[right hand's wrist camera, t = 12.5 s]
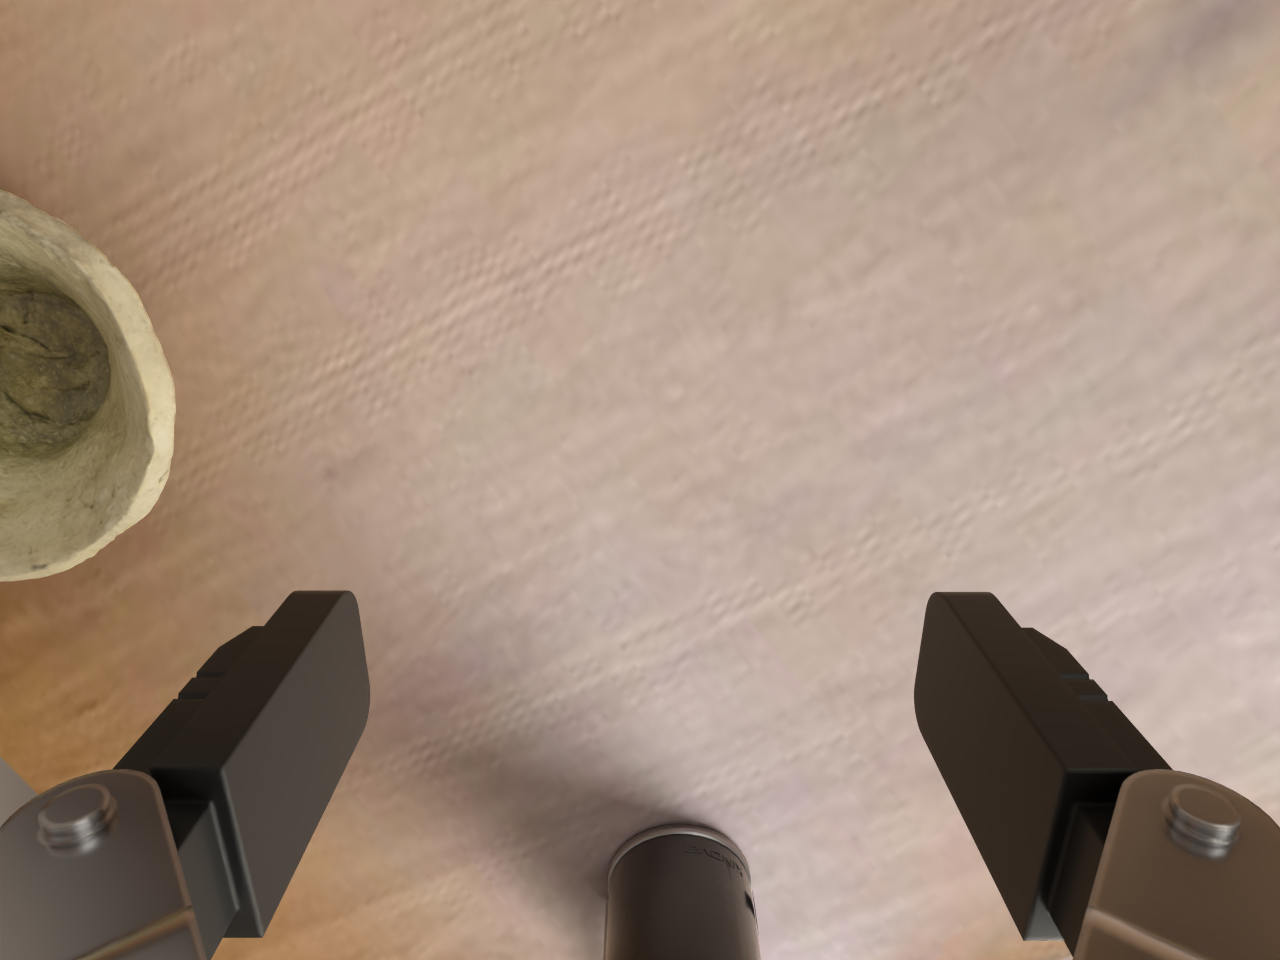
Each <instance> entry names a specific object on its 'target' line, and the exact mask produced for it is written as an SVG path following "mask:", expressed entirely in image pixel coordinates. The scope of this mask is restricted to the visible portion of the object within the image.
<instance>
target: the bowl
mask: <svg viewBox="0 0 1280 960" xmlns="http://www.w3.org/2000/svg"><path fill="white" fill-rule="evenodd" d="M175 414H176V403H175V387H174V381H173V378H172V375H171V371H170V368H169V366H168V363H167V360H166V358H165V355H164V353H163V350H162V346H161V344H160V341H159V339H158V338H157V336H156V334H155V332H154V330H153V327H152V323H151V320H150V318H149V316H148V315H147V312H146V310H145V309H144V306H143V303H142V301H141V299H140V297H139V295H138V294H137V292H136V290H135V289H134V287H133V286H132V285H131V284H130V282H129V281H128V279H127V278H126V277H125V276H124V275H123V274H122V273H121V272H120V271H119V270H118V268H117V267H116V266H115V265H113V264H112V263H111V262H110V261H109V259H108V258H107V257H106V256H105V255H104V254H103V253H102V252H101V251H100V250H99V249H98V248H97V247H96V246H95V245H94V244H93V243H91V242H90V241H89V240H88V239H87V238H85V237H84V236H83V235H82V234H81V233H80V232H78V231H77V230H76V229H74V228H73V227H71V226H70V225H68V224H66V223H65V222H63V221H62V220H60V219H58V218H56V217H54V216H52V215H50V214H48V213H46V212H45V211H43V210H41V209H39V208H37V207H35V206H33V205H32V204H31V203H30V202H28V201H27V200H25V199H22V198H20V197H18V196H16V195H14V194H12V193H10V192H8V191H6V190H3V189H0V581H17V580H26V579H36V578H42V577H46V576H50V575H53V574H56V573H60V572H63V571H66V570H68V569H70V568H72V567H74V566H75V565H77V564H80V563H82V562H84V561H85V560H86V559H88V558H91V557H93V556H95V555H96V554H97V552H98V551H99V550H101V549H102V548H104V547H105V546H106V545H107V544H108V543H110V542H111V541H113V540H114V539H115V537H116V536H117V535H119V534H121V533H123V532H124V531H125V530H127V529H128V528H130V527H131V526H133V525H134V524H136V523H137V522H138V521H139V520H141V519H142V518H144V517H145V516H146V515H147V514H148V513H149V512H150V511H151V509H152V507H153V506H154V504H155V503H156V502H157V500H158V498H159V496H160V494H161V492H162V490H163V488H164V486H165V484H166V481H167V479H168V477H169V473H170V464H171V458H172V455H173V448H174V423H175Z"/></svg>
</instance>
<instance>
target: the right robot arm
mask: <svg viewBox="0 0 1280 960" xmlns="http://www.w3.org/2000/svg"><path fill="white" fill-rule="evenodd" d="M369 704H370V685H369V677H368V670H367V664H366V657H365V650H364V643H363V637H362V630H361V623H360V616H359V609H358V604H357V601H356V598H355V596H354V594H353V593H352V592H351V591H294V592H292V593H291V594H290V595H289V596H288V597H287V599H286V600H285V601H284V602H283V603H282V605H281V606H280V607H279V608H278V610H277V611H276V612H275V613H274V615H273V616H272V617H271V618H270V619H269V621H268V622H267V623H266V624H265V626H252V627H251V628H249V629H247V630H246V631H244V632H243V633H241V634H239V635H238V636H236V637H235V638H233V639H232V640H230V641H228V642H227V643H225V644H224V645H222V646H220V647H219V648H218V649H217V650H216V651H215V652H214V653H213V655H212V656H211V657H210V658H209V659H208V660H207V662H206V663H205V664H204V665H203V666H202V667H201V668H200V670H199V671H198V672H197V677H196V678H192V679H191V680H190V681H189V682H188V683H187V684H186V686H185V687H184V688H183V689H182V690H181V691H180V692H179V696H178V699H173V700H172V702H171V703H170V704H169V705H168V706H167V707H166V708H165V710H164V711H163V712H162V713H161V714H160V715H159V717H158V718H157V719H156V720H155V721H154V722H153V723H152V725H151V726H150V727H149V728H148V729H147V730H146V731H145V733H144V734H143V735H142V736H141V737H140V738H139V739H138V741H137V742H136V743H135V744H134V745H133V746H132V747H131V749H130V750H129V751H128V752H127V753H126V754H125V755H124V757H123V758H122V759H121V760H120V761H119V762H118V763H117V765H116V766H115V767H114V768H113V769H112V770H106V771H99V772H95V773H90V774H86V775H83V776H80V777H77V778H74V779H71V780H69V781H66V782H64V783H61V784H59V785H57V786H55V787H53V788H51V789H49V790H47V791H45V792H43V793H42V794H40V795H38V796H37V797H35V798H33V799H32V800H30V801H29V802H27V803H26V804H25V805H23V806H22V807H21V808H19V809H18V810H17V811H16V812H15V813H14V814H13V815H11V816H10V817H9V818H8V819H7V821H6V822H5V823H4V824H3V825H2V826H1V828H0V960H211V958H212V956H213V954H214V953H215V951H216V949H217V947H218V945H219V943H220V941H221V940H222V938H263V936H264V933H265V931H266V929H267V927H268V925H269V923H270V921H271V919H272V917H273V915H274V913H275V911H276V909H277V907H278V905H279V903H280V901H281V899H282V897H283V895H284V893H285V891H286V888H287V886H288V884H289V882H290V880H291V878H292V876H293V874H294V872H295V870H296V868H297V866H298V864H299V862H300V860H301V858H302V856H303V854H304V852H305V850H306V848H307V845H308V843H309V841H310V839H311V837H312V835H313V833H314V831H315V829H316V827H317V825H318V823H319V821H320V819H321V817H322V815H323V813H324V811H325V809H326V807H327V805H328V802H329V800H330V798H331V796H332V794H333V792H334V790H335V788H336V786H337V784H338V782H339V780H340V778H341V776H342V774H343V772H344V770H345V768H346V766H347V764H348V762H349V760H350V757H351V755H352V753H353V751H354V749H355V747H356V745H357V743H358V741H359V739H360V737H361V735H362V733H363V731H364V728H365V725H366V722H367V717H368V712H369ZM914 704H915V713H916V718H917V722H918V726H919V729H920V732H921V734H922V736H923V738H924V740H925V742H926V744H927V746H928V748H929V750H930V752H931V754H932V756H933V758H934V760H935V762H936V764H937V766H938V768H939V770H940V773H941V775H942V777H943V779H944V781H945V783H946V785H947V787H948V789H949V791H950V793H951V795H952V797H953V799H954V801H955V803H956V805H957V807H958V809H959V811H960V813H961V815H962V817H963V819H964V821H965V823H966V825H967V827H968V829H969V831H970V833H971V835H972V837H973V839H974V841H975V843H976V845H977V847H978V849H979V851H980V853H981V855H982V857H983V859H984V861H985V864H986V866H987V868H988V870H989V872H990V874H991V876H992V878H993V880H994V882H995V884H996V886H997V888H998V890H999V892H1000V894H1001V896H1002V898H1003V900H1004V902H1005V904H1006V906H1007V908H1008V910H1009V912H1010V914H1011V916H1012V918H1013V920H1014V922H1015V924H1016V926H1017V928H1018V930H1019V932H1020V934H1021V936H1022V938H1023V940H1024V941H1064V942H1065V943H1066V945H1067V947H1068V949H1069V951H1070V953H1071V954H1072V956H1073V960H1280V827H1279V826H1278V825H1277V824H1276V823H1275V822H1274V821H1273V819H1272V818H1271V817H1270V816H1269V815H1267V814H1266V813H1265V812H1264V811H1263V810H1262V809H1261V808H1259V807H1258V806H1257V805H1255V804H1254V803H1253V802H1251V801H1250V800H1248V799H1247V798H1245V797H1243V796H1242V795H1240V794H1238V793H1237V792H1235V791H1233V790H1231V789H1229V788H1227V787H1225V786H1223V785H1221V784H1219V783H1216V782H1214V781H1211V780H1209V779H1206V778H1203V777H1200V776H1197V775H1194V774H1190V773H1185V772H1181V771H1174V770H1173V769H1172V768H1171V767H1170V766H1169V765H1168V764H1167V763H1166V762H1165V760H1164V759H1163V758H1162V757H1161V756H1160V755H1159V754H1158V752H1157V751H1156V750H1155V749H1154V748H1153V747H1152V746H1151V744H1150V743H1149V742H1148V741H1147V740H1146V739H1145V738H1144V737H1143V735H1142V734H1141V733H1140V732H1139V731H1138V730H1137V729H1136V727H1135V726H1134V725H1133V724H1132V723H1131V722H1130V721H1129V719H1128V718H1127V717H1126V716H1125V715H1124V714H1123V713H1122V712H1121V710H1120V709H1119V708H1118V707H1117V706H1116V705H1115V704H1114V702H1113V701H1108V699H1107V695H1106V693H1105V692H1104V691H1103V690H1102V689H1101V688H1100V687H1099V685H1098V684H1097V683H1096V682H1095V681H1094V680H1090V679H1089V674H1088V673H1087V672H1086V671H1085V670H1084V668H1083V667H1082V666H1081V665H1080V664H1079V663H1078V662H1077V660H1076V659H1075V658H1074V657H1073V656H1072V655H1071V654H1070V653H1069V651H1068V650H1067V649H1065V648H1064V647H1062V646H1061V645H1059V644H1057V643H1056V642H1054V641H1053V640H1051V639H1050V638H1048V637H1046V636H1045V635H1043V634H1042V633H1040V632H1038V631H1037V630H1035V629H1034V628H1021V627H1020V626H1019V624H1018V623H1017V622H1016V621H1015V620H1014V618H1013V617H1012V616H1011V615H1010V614H1009V612H1008V611H1007V610H1006V609H1005V607H1004V606H1003V605H1002V604H1001V603H1000V601H999V600H998V599H997V598H996V597H995V596H994V595H993V594H992V593H990V592H935V593H933V594H932V595H931V596H930V598H929V600H928V603H927V607H926V613H925V620H924V626H923V633H922V640H921V646H920V653H919V660H918V666H917V673H916V680H915V687H914ZM752 893H753V892H752ZM608 895H609V900H608V901H607V903H606V912H605V934H604V955H603V960H761V955H760V949H759V942H758V936H757V929H758V926H757V929H756V923H757V919H756V922H755V915H756V911H755V915H754V908H755V904H754V908H753V902H752V895H751V878H750V872H749V867H748V863H747V861H746V859H745V857H744V855H743V853H742V852H741V850H740V849H739V848H738V847H737V846H736V845H735V844H734V843H733V842H732V841H730V840H729V839H728V838H726V837H725V836H723V835H721V834H719V833H717V832H715V831H713V830H710V829H707V828H704V827H699V826H694V825H683V824H681V825H666V826H661V827H657V828H653V829H650V830H647V831H645V832H642V833H640V834H638V835H637V836H635V837H633V838H632V839H630V840H629V841H628V842H626V843H625V844H624V845H623V846H622V847H621V848H620V849H619V851H618V852H617V853H616V855H615V856H614V858H613V860H612V862H611V864H610V867H609V872H608ZM753 901H754V898H753ZM758 935H759V934H758Z"/></svg>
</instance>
